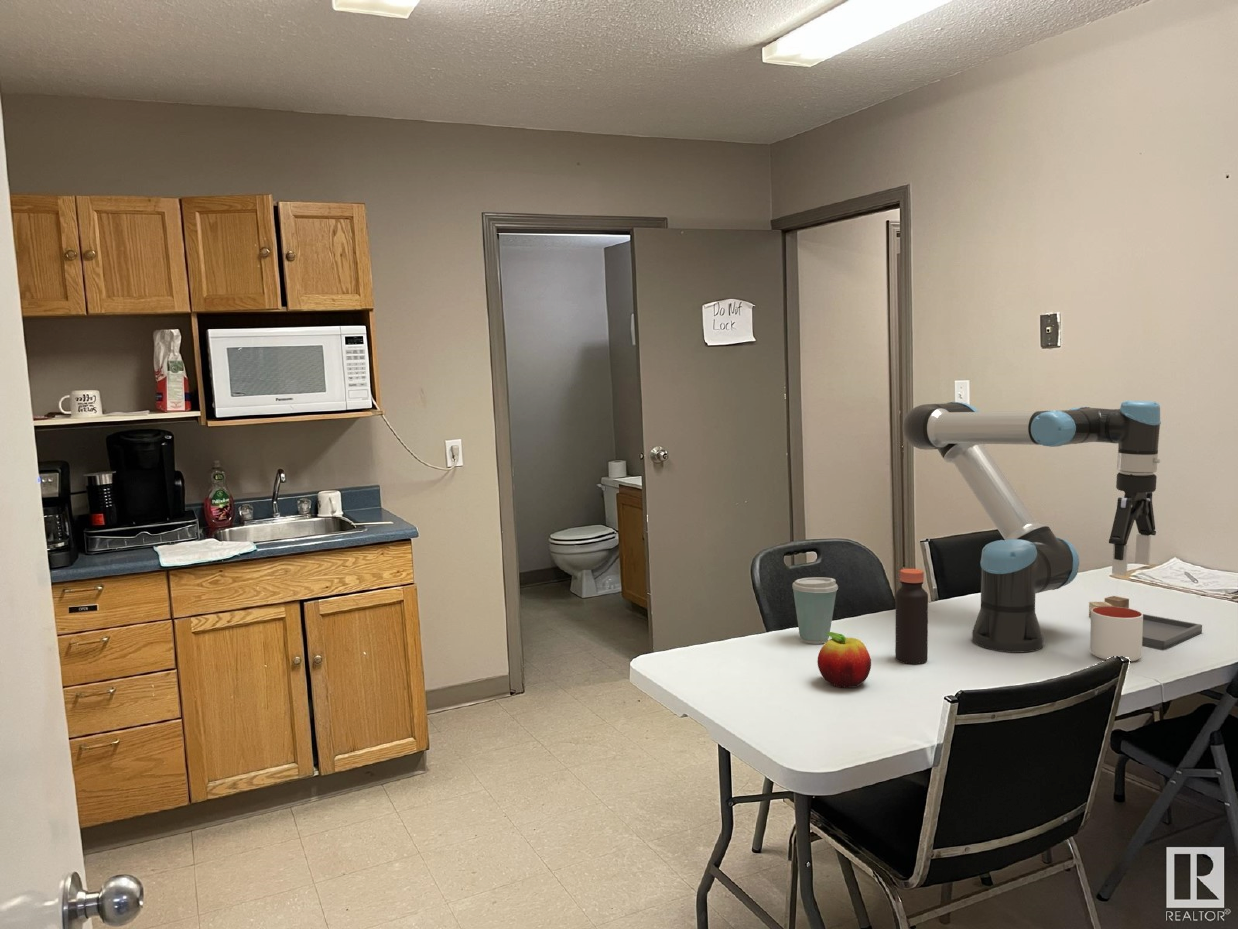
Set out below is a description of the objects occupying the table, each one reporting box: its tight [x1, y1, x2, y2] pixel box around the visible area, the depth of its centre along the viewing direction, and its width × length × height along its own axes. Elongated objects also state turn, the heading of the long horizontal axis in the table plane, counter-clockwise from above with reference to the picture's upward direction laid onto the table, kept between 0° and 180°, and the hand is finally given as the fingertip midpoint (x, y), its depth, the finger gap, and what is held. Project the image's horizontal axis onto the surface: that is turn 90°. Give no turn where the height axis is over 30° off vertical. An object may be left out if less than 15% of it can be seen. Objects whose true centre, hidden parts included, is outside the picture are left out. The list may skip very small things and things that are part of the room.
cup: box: [1089, 606, 1144, 662], centre depth 202 cm, size 10×10×10 cm
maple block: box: [1088, 601, 1113, 619], centre depth 231 cm, size 4×4×4 cm
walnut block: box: [1104, 595, 1130, 609], centre depth 236 cm, size 4×4×4 cm
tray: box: [1142, 613, 1203, 651], centre depth 218 cm, size 20×16×2 cm
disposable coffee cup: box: [791, 576, 839, 645], centre depth 219 cm, size 11×11×15 cm
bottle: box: [894, 568, 929, 665], centre depth 202 cm, size 7×7×20 cm
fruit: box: [816, 631, 872, 689], centre depth 189 cm, size 11×11×10 cm
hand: (1130, 569), depth 201 cm, fingers open, 13 cm apart
